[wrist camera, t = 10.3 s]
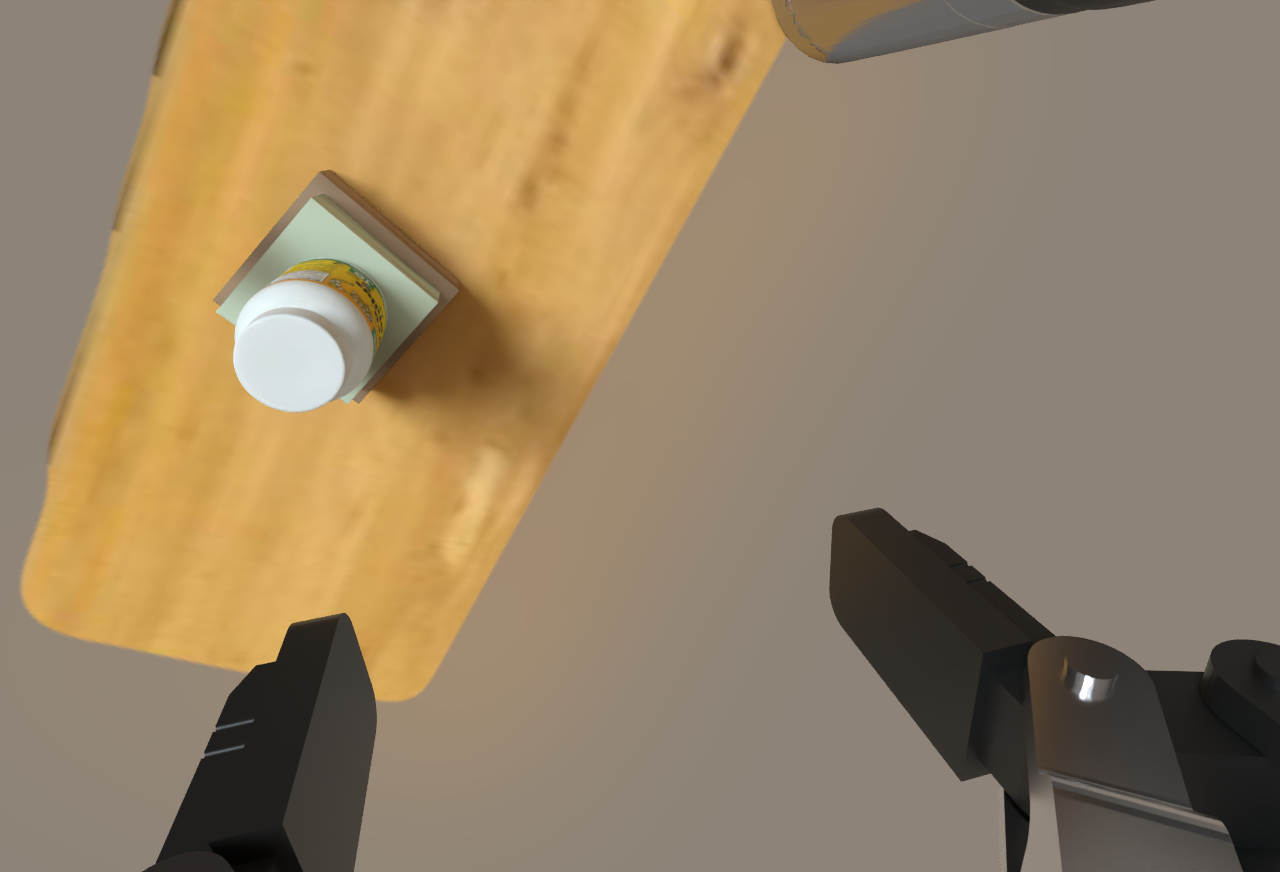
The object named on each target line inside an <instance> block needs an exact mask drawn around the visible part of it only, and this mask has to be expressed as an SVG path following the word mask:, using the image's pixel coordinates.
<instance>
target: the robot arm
mask: <svg viewBox="0 0 1280 872" xmlns="http://www.w3.org/2000/svg"><path fill="white" fill-rule="evenodd" d="M1149 1H1154V0H772V4H773V7H774V10H775V13H776V16H777V19H778V22H779V23H780V25H781V27H782V29H783V31H784V32H785V34H786V36H787V37H788V38H789V39H790V40H791V42H792V43H793V44H794V45H795V46H796V47H797V48H798V49H799V50H801V51H802V52H803V53H805V54H806V55H808V56H809V57H811V58H814V59H816V60H819V61H822V62H827V63H837V64H838V63H844V62H850V61H855V60H860V59H864V58H869V57H874V56H880V55H884V54H889V53H894V52H898V51H903V50H907V49H912V48H917V47H921V46H926V45H931V44H935V43H940V42H944V41H949V40H954V39H958V38H963V37H967V36H972V35H977V34H981V33H986V32H990V31H995V30H1000V29H1004V28H1008V27H1012V26H1016V25H1020V24H1025V23H1030V22H1035V21H1039V20H1044V19H1048V18H1052V17H1057V16H1062V15H1066V14H1070V13H1076V12H1080V11H1085V10H1100V9H1109V8H1116V7H1122V6H1129V5H1134V4H1139V3H1144V2H1149ZM829 590H830V599H831V604H832V607H833V611H834V613H835V616H836V618H837V620H838V621H839V623H840V625H841V626H842V628H843V629H844V630H845V632H846V633H847V634H848V635H849V637H850V638H851V639H852V641H853V642H854V643H855V645H856V646H857V647H858V648H859V650H860V651H861V652H862V654H863V655H864V656H865V657H866V659H867V660H868V661H869V663H870V664H871V665H872V666H873V668H874V669H875V670H876V672H877V673H878V674H879V676H880V677H881V678H882V679H883V681H884V682H885V683H886V685H887V686H888V687H889V689H890V690H891V691H892V692H893V694H894V695H895V696H896V698H897V699H898V700H899V702H900V703H901V704H902V705H903V707H904V708H905V709H906V711H907V712H908V713H909V714H910V716H911V717H912V718H913V720H914V721H915V722H916V724H917V725H918V726H919V727H920V729H921V730H922V731H923V733H924V734H925V735H926V736H927V738H928V739H929V740H930V742H931V743H932V744H933V746H934V747H935V748H936V749H937V751H938V752H939V753H940V755H941V756H942V757H943V759H944V760H945V761H946V762H947V764H948V765H949V766H950V768H951V769H952V770H953V771H954V773H955V774H956V775H957V777H958V778H959V779H960V781H966V780H969V779H972V778H976V777H979V776H983V775H987V774H990V773H991V774H992V775H993V776H994V778H995V779H996V780H997V781H998V782H999V784H1000V785H1001V788H1000V793H999V800H998V813H999V843H1000V844H999V845H1000V872H1280V645H1276V644H1271V643H1268V642H1262V641H1256V640H1230V641H1226V642H1222V643H1220V644H1218V645H1217V646H1215V647H1214V649H1213V650H1212V652H1211V655H1210V658H1209V660H1208V663H1207V666H1206V669H1205V672H1187V671H1186V672H1185V671H1148V670H1147V671H1146V670H1144V669H1143V668H1142V667H1141V666H1140V665H1139V664H1138V663H1136V662H1135V661H1134V660H1132V659H1131V658H1129V657H1128V656H1126V655H1125V654H1123V653H1122V652H1120V651H1118V650H1116V649H1114V648H1112V647H1110V646H1107V645H1105V644H1102V643H1099V642H1096V641H1093V640H1088V639H1085V638H1079V637H1072V636H1055V635H1054V634H1053V633H1051V632H1050V631H1049V630H1048V629H1047V628H1045V627H1044V626H1043V625H1042V624H1041V623H1039V622H1038V621H1037V620H1036V619H1035V618H1033V617H1032V616H1031V615H1030V614H1028V613H1027V612H1026V611H1025V610H1024V609H1023V608H1021V607H1020V606H1019V605H1018V604H1017V603H1016V602H1014V601H1013V600H1012V599H1011V598H1010V597H1008V596H1007V595H1006V594H1005V593H1004V592H1002V591H1001V590H1000V589H999V588H998V587H996V586H995V585H994V584H993V583H992V582H990V581H989V582H987V581H986V579H985V577H984V576H983V575H982V574H981V573H980V572H979V571H977V570H976V569H975V568H974V567H973V566H968V564H967V561H965V560H964V559H963V558H962V557H961V556H960V555H958V554H957V553H956V552H955V551H954V550H952V549H951V548H950V547H949V546H948V545H946V544H945V543H943V542H941V541H939V540H937V539H934V538H932V537H930V536H928V535H925V534H923V533H921V532H919V531H917V530H912V531H908V530H907V529H906V528H905V527H903V526H902V525H901V524H900V523H899V522H898V521H896V520H895V519H894V518H893V517H892V516H891V515H890V514H888V513H887V512H886V511H885V510H883V509H881V508H874V509H869V510H864V511H859V512H854V513H849V514H844V515H839V516H837V517H836V518H835V520H834V522H833V526H832V544H831V566H830V588H829ZM376 724H377V714H376V702H375V696H374V691H373V687H372V684H371V681H370V678H369V675H368V672H367V668H366V665H365V662H364V659H363V656H362V653H361V650H360V647H359V643H358V640H357V637H356V634H355V631H354V628H353V625H352V622H351V620H350V618H349V616H348V615H347V614H346V613H341V614H336V615H331V616H326V617H321V618H316V619H311V620H306V621H301V622H296V623H292V624H291V625H290V626H289V628H288V630H287V633H286V636H285V638H284V641H283V644H282V646H281V649H280V652H279V654H278V657H277V660H276V661H275V662H271V663H266V664H261V665H256V666H255V667H254V668H253V669H252V670H251V672H250V673H249V674H248V675H247V676H246V677H245V678H244V679H243V680H242V681H241V683H240V684H239V685H238V686H237V687H236V688H235V689H234V690H233V691H232V692H231V694H230V695H229V697H228V699H227V701H226V703H225V706H224V708H223V710H222V713H221V715H220V717H219V719H218V722H217V724H216V732H213V733H212V735H211V738H210V740H209V742H208V745H207V747H206V749H205V751H204V753H205V757H204V758H203V759H201V761H200V763H199V765H198V767H197V770H196V772H195V775H194V777H193V779H192V781H191V784H190V786H189V788H188V790H187V793H186V795H185V797H184V800H183V802H182V804H181V806H180V809H179V811H178V813H177V816H176V818H175V820H174V822H173V825H172V827H171V829H170V832H169V834H168V836H167V839H166V841H165V843H164V845H163V848H162V850H161V852H160V855H159V857H158V859H157V861H156V863H155V864H154V865H152V866H150V867H148V868H147V869H145V870H144V871H142V872H354V866H355V859H356V854H357V847H358V841H359V835H360V828H361V822H362V816H363V810H364V804H365V797H366V791H367V785H368V778H369V772H370V765H371V759H372V753H373V747H374V741H375V734H376Z"/></svg>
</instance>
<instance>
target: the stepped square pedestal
mask: <svg viewBox="0 0 1280 872" xmlns="http://www.w3.org/2000/svg"><path fill="white" fill-rule="evenodd" d="M320 257H329V258H336V259H340V260H344V261H347V262H349V263H351V264H353V265H355V266H356V267H358V268H359V269H361V270H362V271H363V272H364V273H365V274H367V275H368V276H369V277H370V278H371V279H372V280H373V281H374V282H375V283H376V284H377V286H378V287H379V289H380V290H381V292H382V294H383V297H384V299H385V302H386V307H387V315H388V318H387V326H386V329H385V332H384V335H383V337H382V340H381V342H380V344H379V347H378V350H377V352H376V354H375V356H374V359H373V361H372V364H371V366H370V369H369V371H368V373H367V375H366V376H365V378H364V379H363V380H362V382H361V383H360V384H359V385H358V386H357V387H356V388H355V389H354V390H352V391H351V392H350V393H348V394H347V395H345V396H343V397H341V398H339V399H341V400H342V401H344V402H345V403H346V404H348V403H349V402H350V401H351V400H352V399H353V400H354V401H356V402H357V403H358V404H359V403H360V402H361V401H362V400H363V398H364V397H365V396H366V395H367V394H368V393H369V392H370V391H371V389H372V388H373V387H374V386H375V385H376V384H377V383H378V382H379V380H380V379H381V378H382V377H383V376H384V375H385V374H386V373H387V371H388V370H389V369H390V368H391V367H392V366H393V365H394V364H395V363H396V361H397V360H398V359H399V358H400V357H401V356H402V355H403V354H404V352H405V351H406V350H407V349H408V348H409V347H410V346H411V345H412V343H413V342H414V341H415V340H416V339H417V338H418V337H419V336H420V335H421V333H422V332H423V331H424V330H425V329H426V328H427V327H428V326H429V324H430V323H431V322H432V321H433V320H434V319H435V318H436V317H437V315H438V314H439V313H440V312H441V311H442V310H443V309H444V308H445V307H446V305H447V304H448V303H449V302H450V301H451V300H452V299H453V298H454V296H455V295H456V294H457V293H458V292H459V288H460V281H459V280H458V279H456V278H455V277H454V276H453V275H452V274H451V273H449V272H448V271H447V270H446V269H445V268H444V267H442V266H441V265H440V264H439V263H438V262H437V261H435V260H434V259H433V258H432V257H431V256H430V255H428V254H427V253H426V252H425V251H424V250H423V249H422V248H420V247H419V246H418V245H417V244H416V243H415V242H413V241H412V240H411V239H410V238H409V237H408V236H406V235H405V234H404V233H403V232H402V231H401V230H399V229H398V228H397V227H396V226H395V225H394V224H393V223H391V222H390V221H389V220H388V219H387V218H386V217H384V216H383V215H382V214H381V213H380V212H379V211H377V210H376V209H375V208H374V207H373V206H372V205H370V204H369V203H368V202H367V201H366V200H365V199H363V198H362V197H361V196H360V195H359V194H358V193H357V192H355V191H354V190H353V189H352V188H351V187H350V186H348V185H347V184H346V183H345V182H344V181H343V180H341V179H340V178H339V177H338V176H337V175H336V174H334V173H333V172H332V171H331V170H326V171H321V172H319V173H318V174H317V175H316V177H315V178H314V179H313V180H312V181H311V183H310V184H309V185H308V186H307V187H306V189H305V190H304V191H303V192H302V193H301V195H300V196H299V197H298V198H297V199H296V201H295V202H294V203H293V204H292V205H291V207H290V208H289V209H288V210H287V211H286V213H285V214H284V215H283V216H282V217H281V219H280V220H279V221H278V222H277V223H276V225H275V226H274V227H273V228H272V229H271V231H270V232H269V233H268V234H267V236H266V237H265V238H264V239H263V240H262V242H261V243H260V244H259V245H258V246H257V248H256V249H255V250H254V251H253V252H252V254H251V255H250V256H249V257H248V258H247V260H246V261H245V262H244V263H243V264H242V266H241V267H240V268H239V269H238V270H237V272H236V273H235V274H234V275H233V276H232V278H231V279H230V280H229V281H228V282H227V284H226V285H225V286H224V287H223V288H222V290H221V291H220V292H219V293H218V295H217V296H216V297H215V298H214V299H213V301H214V302H216V303H217V304H218V305H220V308H219V309H218V310H217V311H216V312H217V313H218V314H220V315H221V316H222V317H224V318H225V319H227V320H228V321H230V322H231V323H232V324H234V325H235V326H236V323H237V319H238V317H239V314H240V312H241V310H242V309H243V307H244V306H245V304H246V303H247V302H248V301H249V299H251V298H252V297H253V296H254V295H255V294H256V293H257V292H259V291H260V290H261V289H263V288H264V287H265V286H267V285H268V284H269V283H271V282H272V281H273V280H275V279H276V278H278V277H279V276H280V275H281V274H283V273H284V272H285V271H287V270H288V269H289V268H291V267H293V266H294V265H296V264H298V263H300V262H303V261H305V260H308V259H312V258H320Z"/></svg>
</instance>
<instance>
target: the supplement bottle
mask: <svg viewBox="0 0 1280 872" xmlns="http://www.w3.org/2000/svg"><path fill="white" fill-rule="evenodd" d="M387 318H388V315H387V307H386V302H385V299H384V297H383V294H382V292H381V290H380V289H379V287H378V286H377V284H376V283H375V282H374V281H373V280H372V279H371V278H370V277H369V276H368V275H367V274H365V273H364V272H363V271H362V270H361V269H359V268H358V267H356V266H355V265H353V264H351V263H349V262H347V261H344V260H340V259H336V258H329V257H320V258H312V259H308V260H305V261H303V262H300V263H298V264H296V265H294V266H293V267H291V268H289V269H288V270H287V271H285V272H284V273H283V274H281V275H280V276H279V277H278V278H276V279H275V280H273V281H272V282H271V283H269V284H268V285H267V286H265V287H264V288H263V289H261V290H260V291H259V292H257V293H256V294H255V295H254V296H253V297H252V298H251V299H249V301H248V302H247V303H246V304H245V306H244V307H243V309H242V310H241V312H240V314H239V317H238V319H237V323H236V327H235V347H234V353H233V362H234V368H235V371H236V374H237V376H238V378H239V380H240V382H241V384H242V385H243V387H244V388H245V389H246V390H247V391H248V392H249V393H250V394H251V395H252V396H253V397H254V398H255V399H257V400H258V401H260V402H261V403H263V404H265V405H267V406H269V407H271V408H274V409H277V410H281V411H287V412H306V411H311V410H314V409H317V408H320V407H322V406H323V405H325V404H327V403H328V402H331V401H334V400H337V399H339V398H341V397H343V396H345V395H347V394H348V393H350V392H351V391H352V390H354V389H355V388H356V387H357V386H358V385H359V384H360V383H361V382H362V380H363V379H364V378H365V376H366V375H367V373H368V371H369V369H370V366H371V364H372V361H373V359H374V356H375V354H376V352H377V350H378V347H379V344H380V342H381V340H382V337H383V335H384V332H385V329H386V326H387Z"/></svg>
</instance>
